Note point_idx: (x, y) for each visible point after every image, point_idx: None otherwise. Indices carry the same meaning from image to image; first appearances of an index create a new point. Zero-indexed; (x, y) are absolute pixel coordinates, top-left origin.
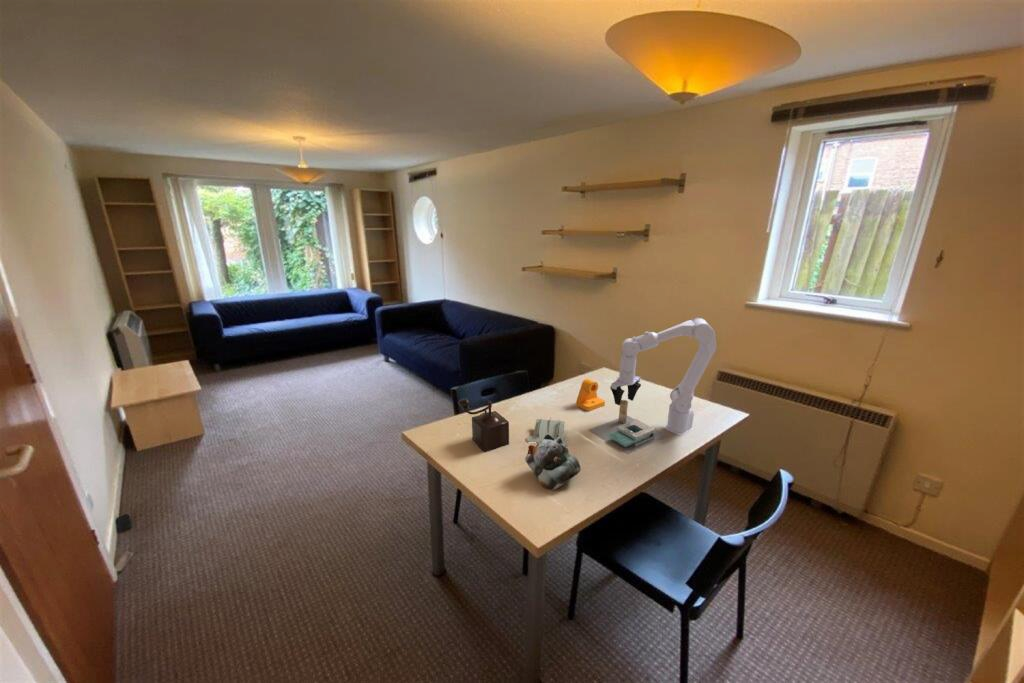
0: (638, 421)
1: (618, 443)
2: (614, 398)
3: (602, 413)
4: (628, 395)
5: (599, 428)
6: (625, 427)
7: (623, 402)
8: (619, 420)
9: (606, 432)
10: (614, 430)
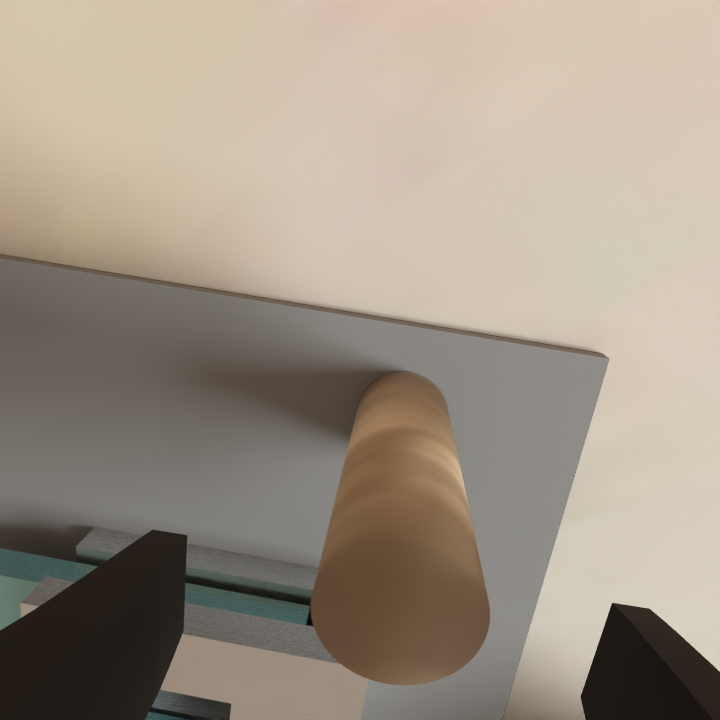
0: (342, 706)
1: None
2: (51, 612)
3: (452, 66)
4: (656, 686)
5: (69, 323)
6: None
7: (348, 625)
8: (357, 412)
9: (72, 424)
10: (172, 457)
